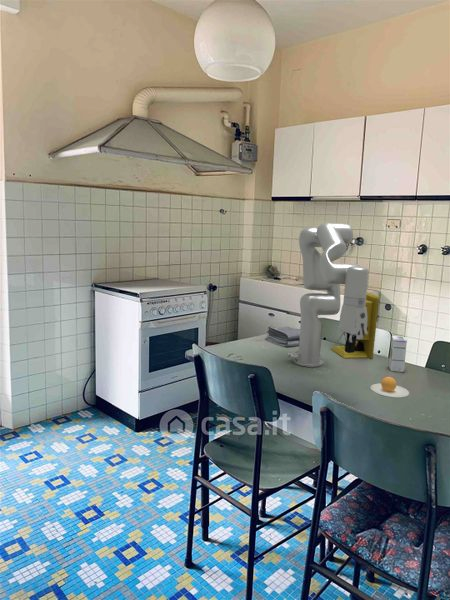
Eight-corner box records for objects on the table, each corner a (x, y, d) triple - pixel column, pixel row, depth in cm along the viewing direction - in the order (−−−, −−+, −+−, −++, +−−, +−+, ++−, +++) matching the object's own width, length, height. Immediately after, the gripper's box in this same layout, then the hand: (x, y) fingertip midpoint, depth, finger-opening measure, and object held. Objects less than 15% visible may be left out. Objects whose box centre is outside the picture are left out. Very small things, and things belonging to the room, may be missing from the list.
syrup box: (404, 372, 196) (408, 339, 193) (389, 370, 197) (393, 338, 194) (401, 368, 201) (405, 336, 199) (387, 366, 202) (391, 335, 200)
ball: (387, 375, 170) (399, 376, 172) (377, 377, 175) (389, 378, 177) (388, 390, 168) (400, 391, 170) (378, 391, 173) (390, 392, 175)
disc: (374, 395, 167) (374, 395, 167) (367, 382, 181) (367, 382, 181) (414, 399, 166) (414, 398, 166) (403, 385, 180) (403, 384, 180)
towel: (287, 349, 225) (288, 333, 224) (263, 340, 240) (264, 325, 238) (309, 345, 234) (310, 330, 232) (285, 336, 248) (286, 322, 247)
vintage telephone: (324, 344, 236) (328, 287, 230) (349, 343, 238) (354, 287, 233) (349, 363, 205) (355, 298, 200) (378, 362, 208) (385, 298, 202)
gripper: (377, 305, 154) (372, 357, 157) (349, 297, 167) (344, 345, 170) (360, 306, 151) (355, 359, 154) (332, 298, 164) (328, 347, 167)
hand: (349, 352), depth 162 cm, fingers closed
